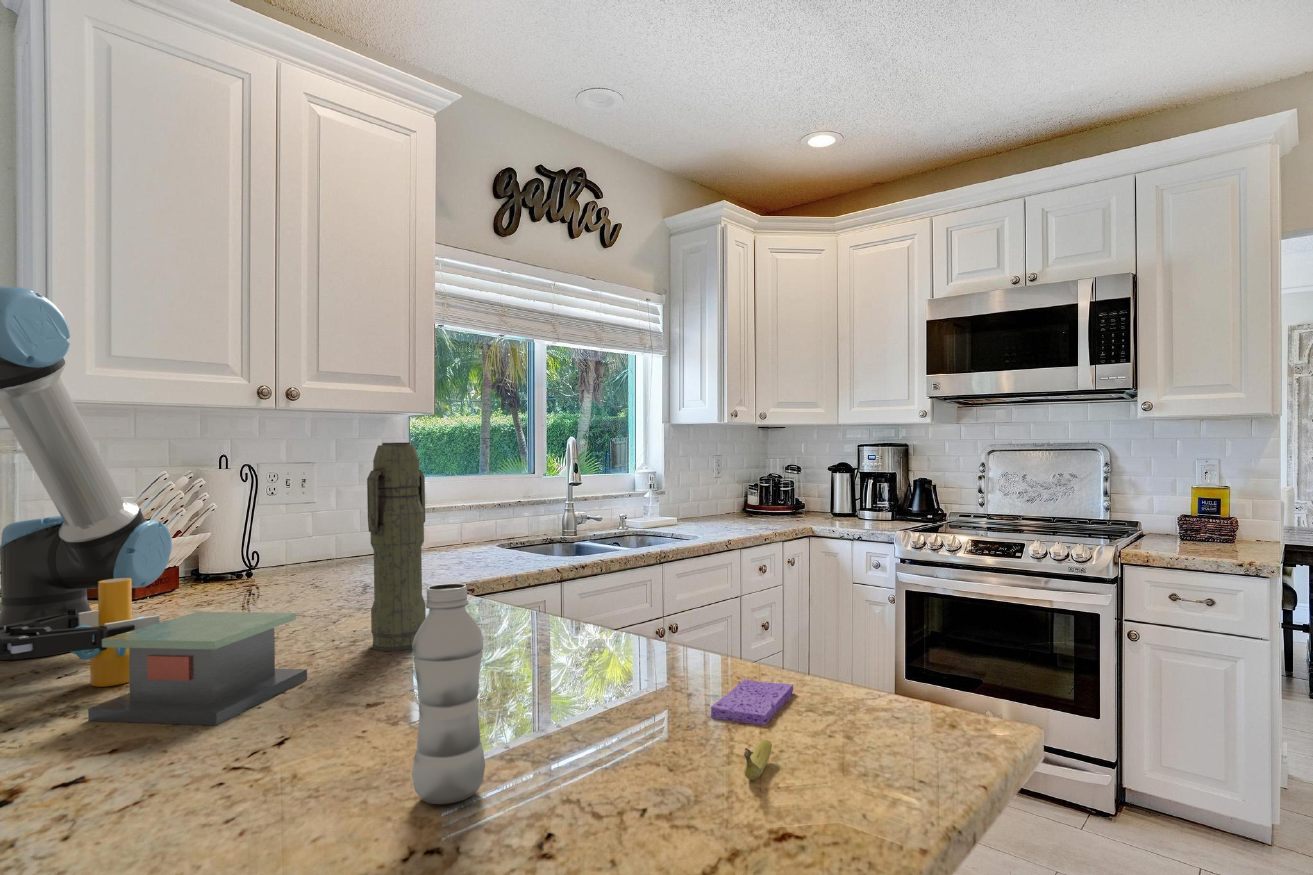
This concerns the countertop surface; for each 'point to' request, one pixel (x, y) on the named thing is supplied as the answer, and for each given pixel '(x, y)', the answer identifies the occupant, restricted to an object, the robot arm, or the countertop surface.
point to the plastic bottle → (448, 699)
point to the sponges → (752, 702)
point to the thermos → (396, 545)
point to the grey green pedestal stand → (199, 669)
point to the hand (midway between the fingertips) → (143, 619)
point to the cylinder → (112, 608)
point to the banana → (757, 759)
